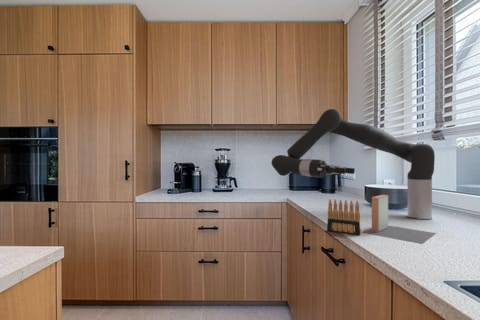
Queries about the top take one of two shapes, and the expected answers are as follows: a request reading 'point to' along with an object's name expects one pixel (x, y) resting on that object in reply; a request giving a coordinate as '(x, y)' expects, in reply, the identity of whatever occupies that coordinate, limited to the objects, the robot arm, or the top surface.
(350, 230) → the ammunition clip
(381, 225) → the tile
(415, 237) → the mat
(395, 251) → the top surface
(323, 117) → the robot arm
